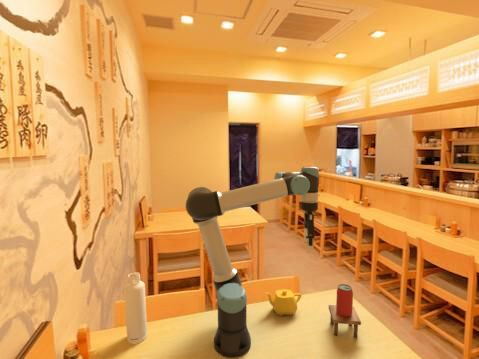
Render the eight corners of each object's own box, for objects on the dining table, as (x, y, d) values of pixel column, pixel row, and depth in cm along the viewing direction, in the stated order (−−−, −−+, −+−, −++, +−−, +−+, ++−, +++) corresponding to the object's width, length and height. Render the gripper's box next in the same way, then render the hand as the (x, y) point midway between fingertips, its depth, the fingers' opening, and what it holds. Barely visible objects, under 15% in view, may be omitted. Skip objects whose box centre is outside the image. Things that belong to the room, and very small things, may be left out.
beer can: (353, 318, 117) (354, 291, 115) (337, 316, 118) (338, 290, 117) (350, 309, 123) (351, 284, 122) (335, 308, 124) (335, 282, 123)
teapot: (267, 319, 130) (267, 297, 129) (263, 305, 141) (263, 285, 140) (304, 316, 131) (305, 295, 130) (297, 303, 142) (298, 284, 141)
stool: (332, 337, 117) (333, 319, 116) (328, 321, 128) (328, 304, 127) (360, 339, 115) (360, 321, 115) (353, 323, 126) (353, 306, 125)
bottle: (142, 328, 124) (139, 268, 121) (150, 337, 118) (147, 274, 115) (124, 337, 118) (120, 274, 115) (132, 346, 112) (128, 281, 109)
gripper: (322, 207, 111) (320, 257, 114) (314, 196, 136) (313, 238, 138) (303, 206, 112) (302, 257, 115) (298, 196, 137) (298, 237, 139)
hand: (308, 246), depth 127 cm, fingers open, 13 cm apart
